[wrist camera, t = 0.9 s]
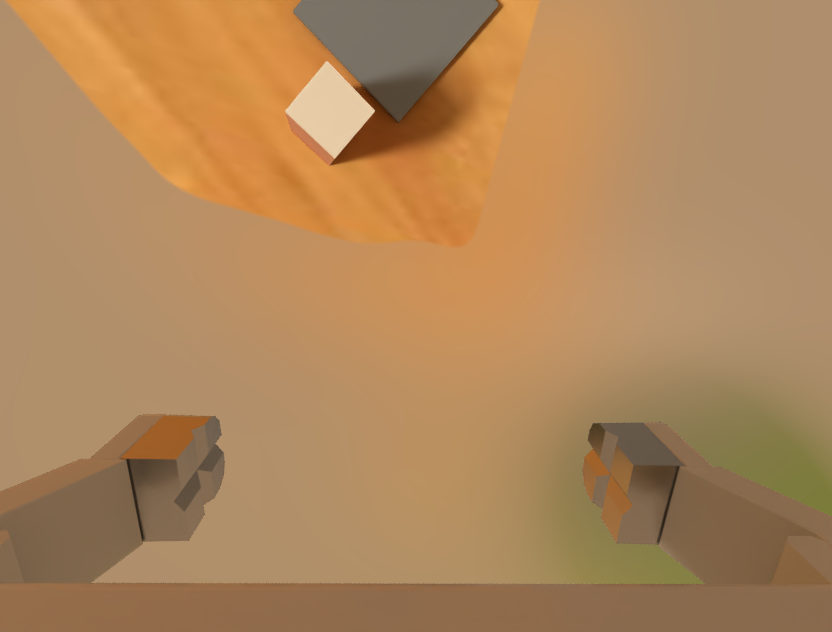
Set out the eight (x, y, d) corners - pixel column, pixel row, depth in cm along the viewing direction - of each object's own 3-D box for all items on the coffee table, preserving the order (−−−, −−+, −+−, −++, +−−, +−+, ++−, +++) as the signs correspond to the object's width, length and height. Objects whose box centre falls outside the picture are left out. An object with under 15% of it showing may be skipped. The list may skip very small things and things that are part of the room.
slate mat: (293, 13, 42) (293, 10, 41) (401, -119, 41) (402, -124, 40) (397, 122, 47) (399, 121, 46) (496, 7, 46) (499, 4, 45)
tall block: (291, 130, 45) (285, 110, 33) (322, 93, 44) (327, 60, 33) (329, 165, 46) (335, 158, 35) (359, 130, 46) (375, 110, 35)
